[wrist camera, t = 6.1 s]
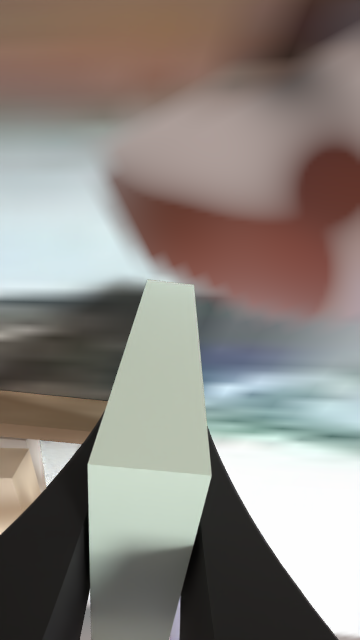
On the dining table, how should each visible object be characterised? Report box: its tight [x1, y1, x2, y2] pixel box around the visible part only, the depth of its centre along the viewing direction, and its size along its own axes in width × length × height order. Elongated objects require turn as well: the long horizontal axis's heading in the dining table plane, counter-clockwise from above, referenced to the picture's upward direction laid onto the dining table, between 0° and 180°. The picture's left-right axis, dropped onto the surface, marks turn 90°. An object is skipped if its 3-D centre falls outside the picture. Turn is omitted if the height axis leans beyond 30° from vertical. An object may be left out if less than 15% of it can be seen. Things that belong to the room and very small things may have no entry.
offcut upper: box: [0, 448, 41, 535], centre depth 19 cm, size 7×4×2 cm, turn 179°
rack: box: [0, 390, 108, 444], centre depth 20 cm, size 14×16×2 cm
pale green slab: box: [88, 280, 212, 640], centre depth 11 cm, size 8×2×9 cm, turn 173°
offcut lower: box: [0, 436, 46, 493], centre depth 21 cm, size 9×4×2 cm, turn 174°
